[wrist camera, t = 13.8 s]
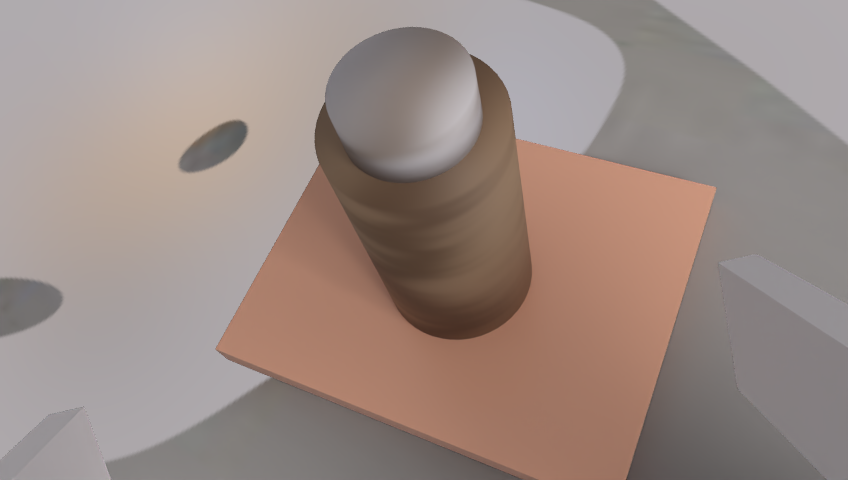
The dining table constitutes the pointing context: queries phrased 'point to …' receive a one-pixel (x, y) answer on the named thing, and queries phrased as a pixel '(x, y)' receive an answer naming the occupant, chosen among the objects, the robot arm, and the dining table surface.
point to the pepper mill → (429, 178)
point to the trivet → (505, 346)
